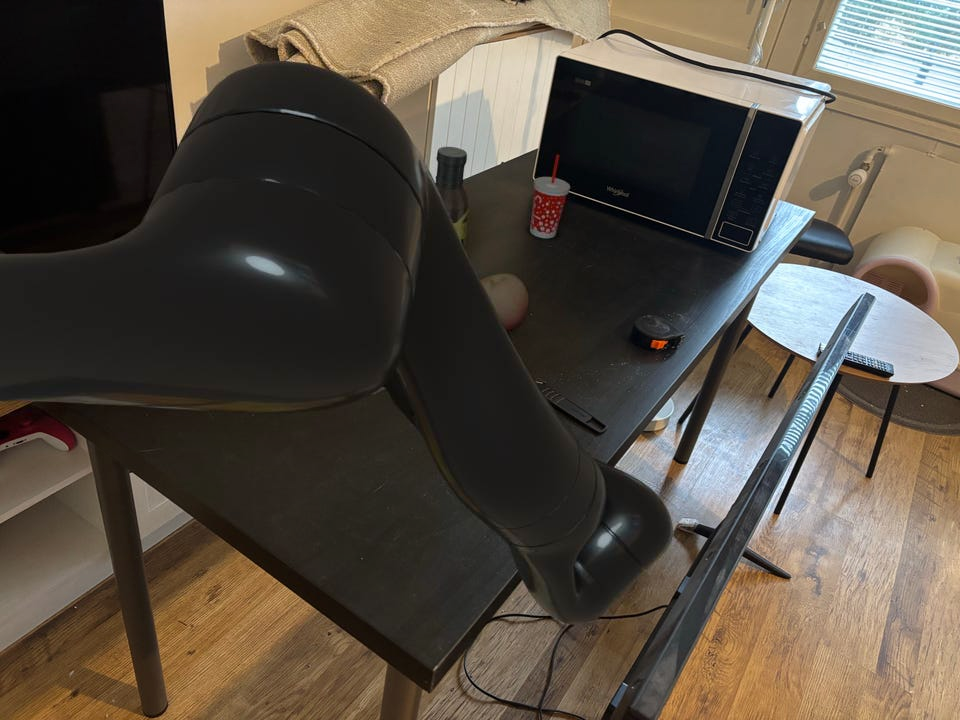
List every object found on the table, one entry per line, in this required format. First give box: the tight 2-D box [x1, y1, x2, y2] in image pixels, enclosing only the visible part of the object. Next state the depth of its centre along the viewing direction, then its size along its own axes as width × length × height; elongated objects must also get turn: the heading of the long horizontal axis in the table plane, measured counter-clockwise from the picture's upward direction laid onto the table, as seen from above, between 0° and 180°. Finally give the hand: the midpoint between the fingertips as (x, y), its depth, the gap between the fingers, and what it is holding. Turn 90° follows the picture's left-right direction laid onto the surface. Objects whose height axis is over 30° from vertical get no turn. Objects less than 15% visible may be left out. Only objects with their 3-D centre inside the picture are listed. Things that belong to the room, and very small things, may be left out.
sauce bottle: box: [435, 146, 470, 248], centre depth 105 cm, size 6×6×20 cm
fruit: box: [480, 272, 529, 332], centre depth 100 cm, size 8×8×8 cm
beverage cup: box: [529, 154, 571, 239], centre depth 125 cm, size 6×6×14 cm
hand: (358, 301), depth 70 cm, fingers closed on salt shaker, 3 cm apart
